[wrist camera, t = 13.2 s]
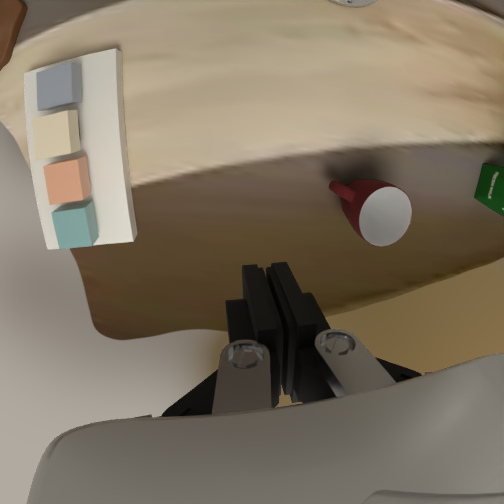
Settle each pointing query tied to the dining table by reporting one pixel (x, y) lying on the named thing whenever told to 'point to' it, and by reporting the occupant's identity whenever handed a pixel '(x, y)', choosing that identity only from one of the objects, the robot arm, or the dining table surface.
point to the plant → (10, 27)
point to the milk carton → (491, 188)
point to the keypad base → (91, 147)
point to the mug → (375, 210)
